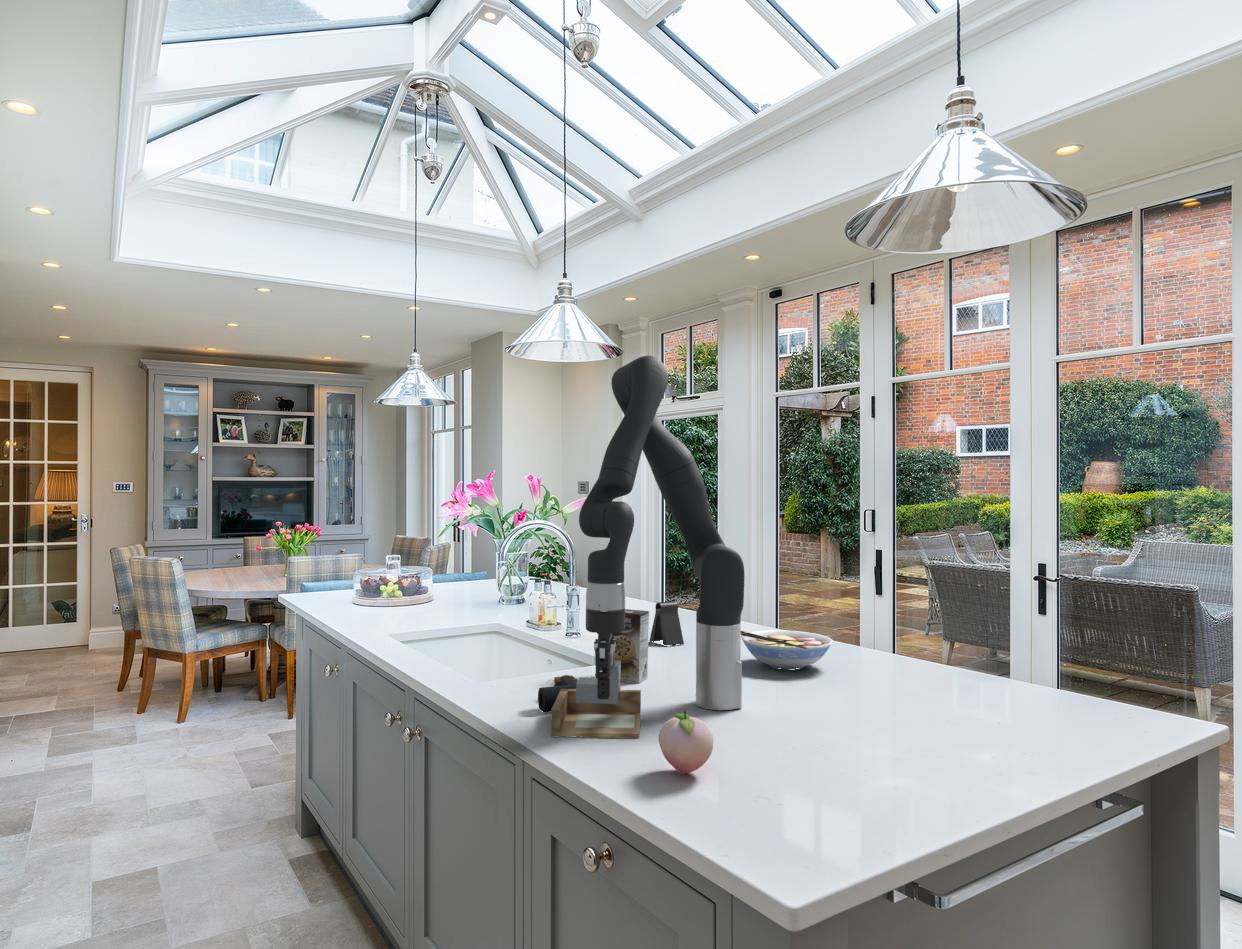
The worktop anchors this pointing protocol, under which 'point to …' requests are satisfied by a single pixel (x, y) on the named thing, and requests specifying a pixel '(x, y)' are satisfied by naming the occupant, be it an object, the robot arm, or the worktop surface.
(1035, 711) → the worktop surface
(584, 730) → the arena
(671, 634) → the dark folding stand
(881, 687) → the worktop surface
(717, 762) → the worktop surface
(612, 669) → the angle bracket
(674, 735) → the decorative fruit
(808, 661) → the ramen bowl
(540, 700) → the pipe connector
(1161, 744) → the worktop surface
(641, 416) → the robot arm
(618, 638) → the coffee box
